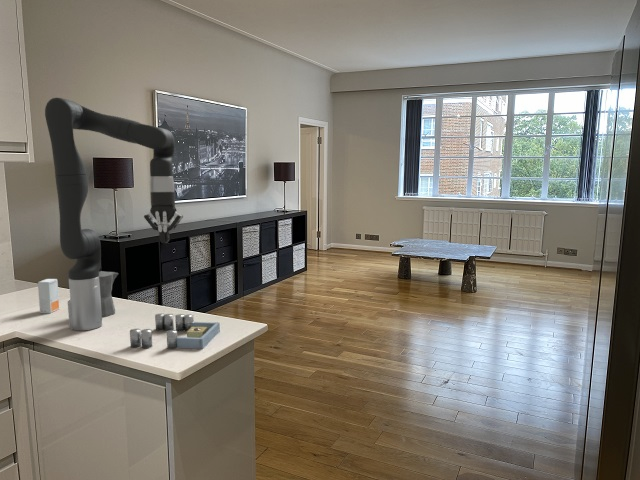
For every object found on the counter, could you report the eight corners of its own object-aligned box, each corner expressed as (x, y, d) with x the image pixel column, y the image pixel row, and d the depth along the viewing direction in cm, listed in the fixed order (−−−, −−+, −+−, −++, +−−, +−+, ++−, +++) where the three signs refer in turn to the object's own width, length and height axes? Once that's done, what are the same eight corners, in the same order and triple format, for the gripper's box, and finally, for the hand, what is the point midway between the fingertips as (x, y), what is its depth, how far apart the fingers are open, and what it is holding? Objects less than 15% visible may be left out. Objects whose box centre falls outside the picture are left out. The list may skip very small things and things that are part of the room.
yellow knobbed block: (187, 342, 148) (186, 331, 148) (192, 337, 153) (192, 326, 153) (202, 343, 148) (202, 331, 148) (207, 337, 153) (207, 326, 153)
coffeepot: (117, 308, 186) (114, 262, 184) (124, 313, 179) (122, 266, 176) (73, 315, 176) (70, 267, 174) (79, 321, 169) (76, 271, 167)
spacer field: (128, 347, 144) (127, 331, 143) (156, 327, 162) (156, 313, 162) (175, 349, 142) (174, 333, 141) (198, 329, 161) (197, 314, 160)
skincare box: (51, 313, 179) (48, 282, 177) (39, 313, 179) (37, 282, 177) (60, 309, 185) (57, 278, 183) (49, 308, 185) (46, 278, 183)
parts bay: (172, 347, 144) (172, 337, 143) (192, 330, 160) (191, 321, 159) (203, 348, 143) (202, 339, 142) (219, 331, 159) (219, 322, 158)
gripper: (137, 190, 153) (140, 244, 155) (177, 191, 152) (179, 245, 154) (148, 190, 160) (150, 241, 163) (186, 190, 159) (188, 241, 161)
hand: (164, 243), depth 158 cm, fingers closed
